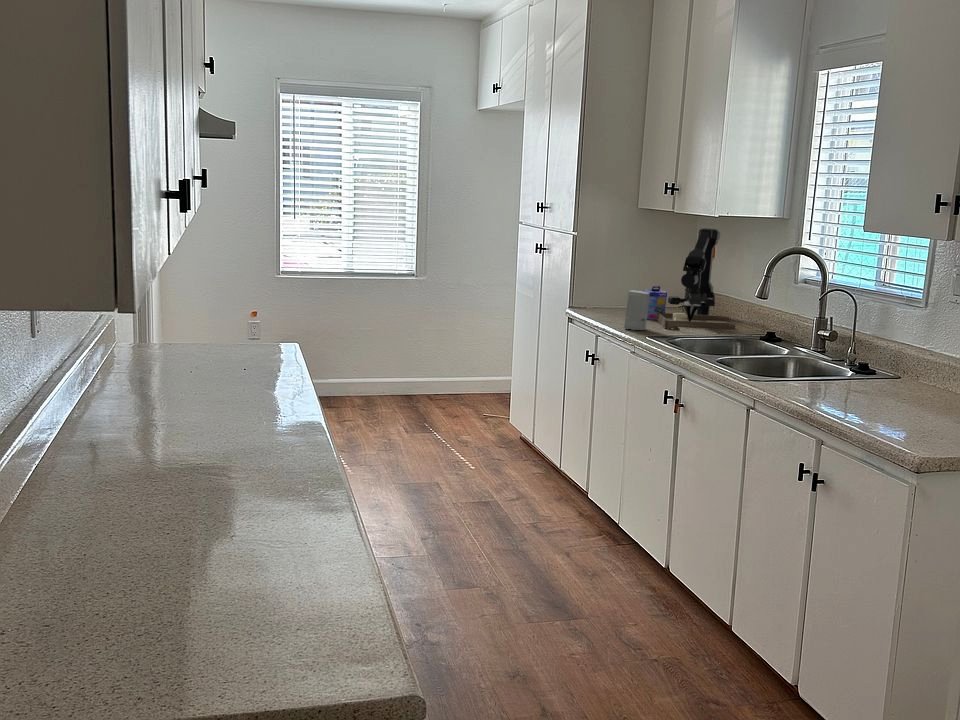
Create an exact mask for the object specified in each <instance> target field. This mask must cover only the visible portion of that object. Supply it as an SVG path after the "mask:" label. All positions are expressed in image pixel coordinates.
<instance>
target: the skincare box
mask: <svg viewBox="0 0 960 720" xmlns="http://www.w3.org/2000/svg"><path fill="white" fill-rule="evenodd" d="M649 296H650V292H643V290H633V289H630V290H629V291H628V295H627V303H626V311H625V318H624V325H623V326H624V327H623V328H624V330H626V329H631V330H630V331H635V330H644V329H645V330H646V326H647V320H648V319H647V312H648V304H649ZM645 330H644V331H645Z"/></svg>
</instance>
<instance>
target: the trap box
mask: <svg viewBox="0 0 960 720" xmlns="http://www.w3.org/2000/svg"><path fill="white" fill-rule="evenodd" d="M685 314H686V313H685ZM686 315H687V314H686ZM725 319H726V316H725V315H713V314H709V315H696V314H694V315H693V317H692V320H691V321H688V317H687V321H672V320H673V313H669V312H668V313H666V312H665V313H658V317H657V319H656V320H657V323H659V324H660V326H661V327H663V328H664V327H665V328H675V329H674V330H680V327H689V328H690V327H697V328H712V329H713V328H715V329H733V330H735V329H736V323H735V322H734V323H733V322H727V321H726V320H725ZM694 320H695V321H694ZM697 320H698V321H697ZM665 328H664V329H665Z"/></svg>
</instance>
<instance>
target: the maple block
mask: <svg viewBox="0 0 960 720" xmlns="http://www.w3.org/2000/svg"><path fill="white" fill-rule="evenodd" d="M672 314H673V320H672V321H687V316H688V315H686V313H684V312H673V313H672Z"/></svg>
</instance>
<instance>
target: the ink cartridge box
mask: <svg viewBox="0 0 960 720" xmlns="http://www.w3.org/2000/svg"><path fill="white" fill-rule="evenodd" d="M642 291H643V292H650V296H649V304H648V312H647V320H657V317H658V313H666V307H667V306H666V305H667V300H668V299H667V298H668V292H667V291H665V290H661V285H658V286H657V285H655V286H654V285H653V286H652V288H651V289H643V290H642Z"/></svg>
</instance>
